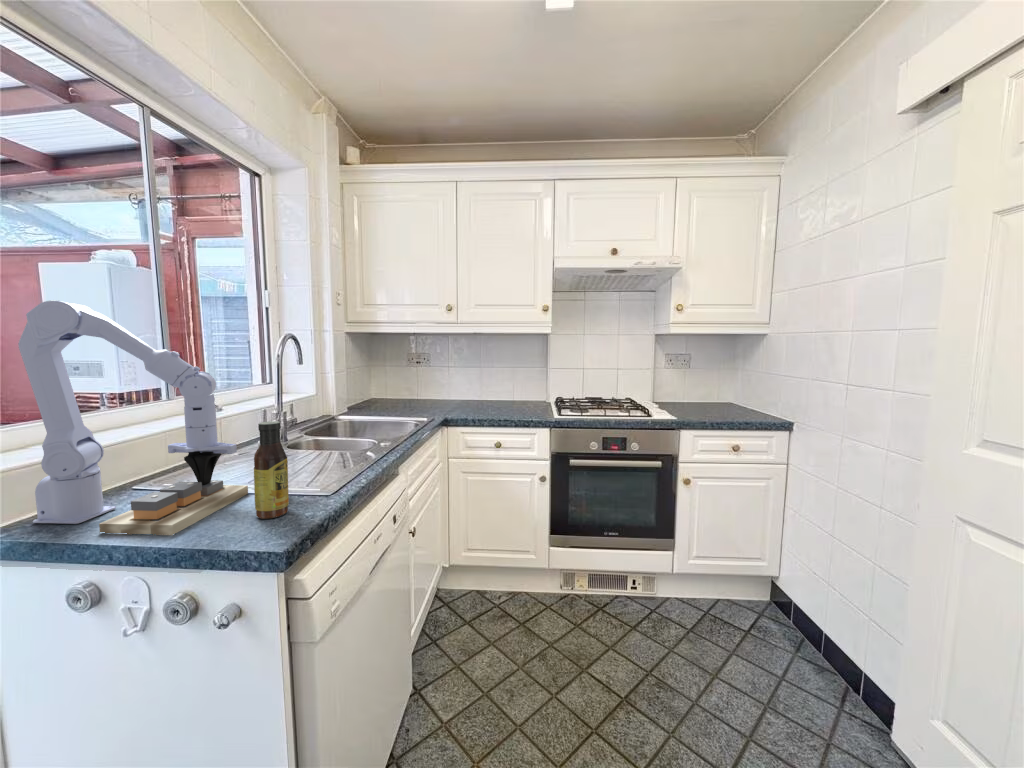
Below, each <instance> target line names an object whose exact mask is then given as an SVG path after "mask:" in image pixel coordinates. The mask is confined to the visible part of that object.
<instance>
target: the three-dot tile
mask: <svg viewBox="0 0 1024 768" xmlns="http://www.w3.org/2000/svg"><path fill="white" fill-rule="evenodd" d="M223 485H224V480H218V479H217V480H215V479H214V480H212V479H211V482H210V483H208V484H206V485H202V490H201V496H210V495H212V494H214V493H216V492H218V491H220V490H222V488H223Z"/></svg>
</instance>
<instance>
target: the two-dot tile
mask: <svg viewBox="0 0 1024 768" xmlns="http://www.w3.org/2000/svg"><path fill="white" fill-rule="evenodd" d="M201 490H202V482H198V481H177V482H174V483H173V484H170V485H168V486H164V487H163V488H160V489H159V492H174V493H177V495H178V501H177V502H176V506H179V507H187V506H186V505H188V504H190V503H192V502H194V501H196V500H198V499H200V498H201Z"/></svg>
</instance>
